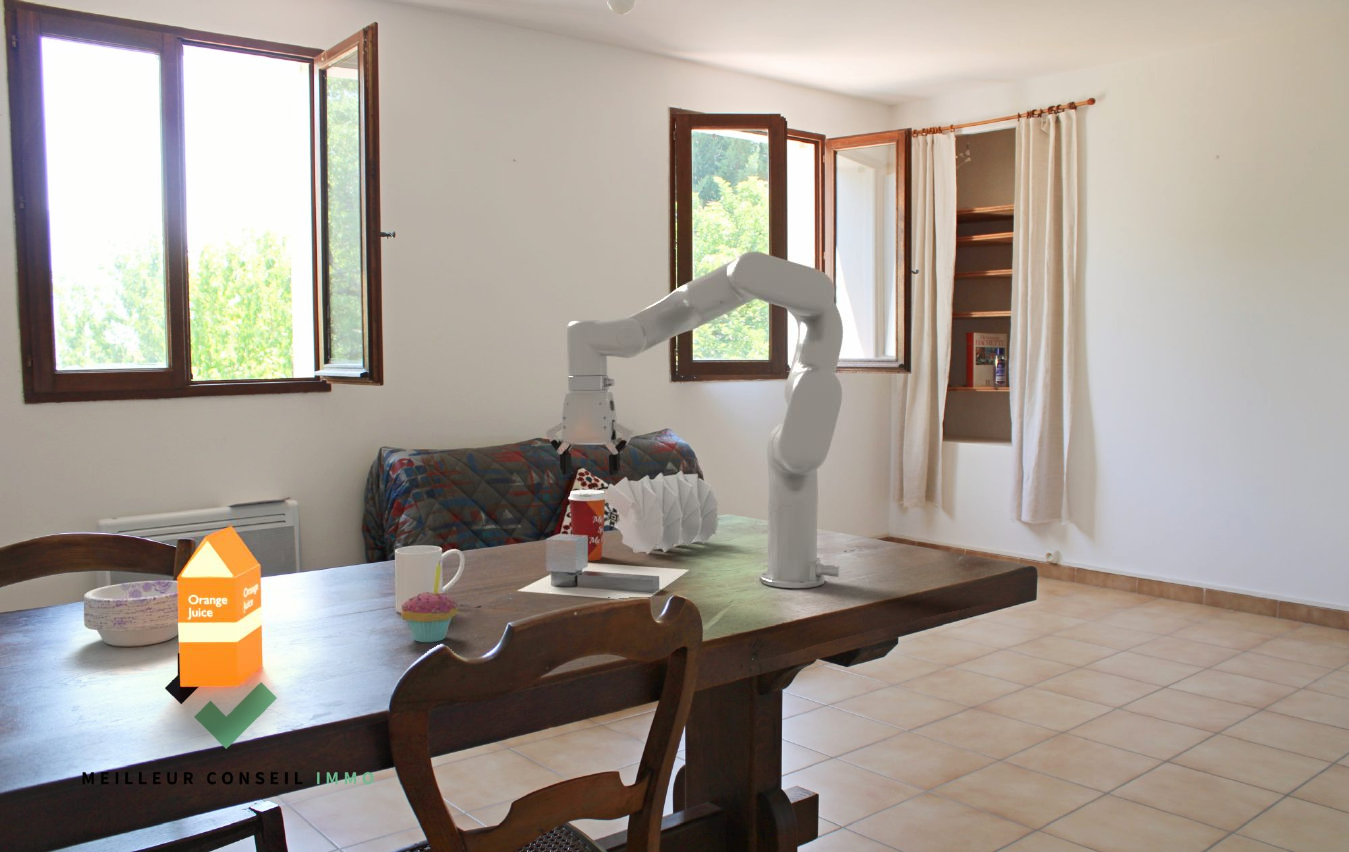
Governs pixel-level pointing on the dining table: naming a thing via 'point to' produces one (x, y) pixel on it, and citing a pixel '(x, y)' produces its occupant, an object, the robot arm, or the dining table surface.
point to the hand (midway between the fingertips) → (590, 474)
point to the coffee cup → (588, 518)
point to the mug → (420, 571)
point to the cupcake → (429, 613)
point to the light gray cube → (566, 553)
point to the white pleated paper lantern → (664, 511)
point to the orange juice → (220, 613)
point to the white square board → (664, 579)
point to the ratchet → (605, 581)
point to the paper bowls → (133, 612)
